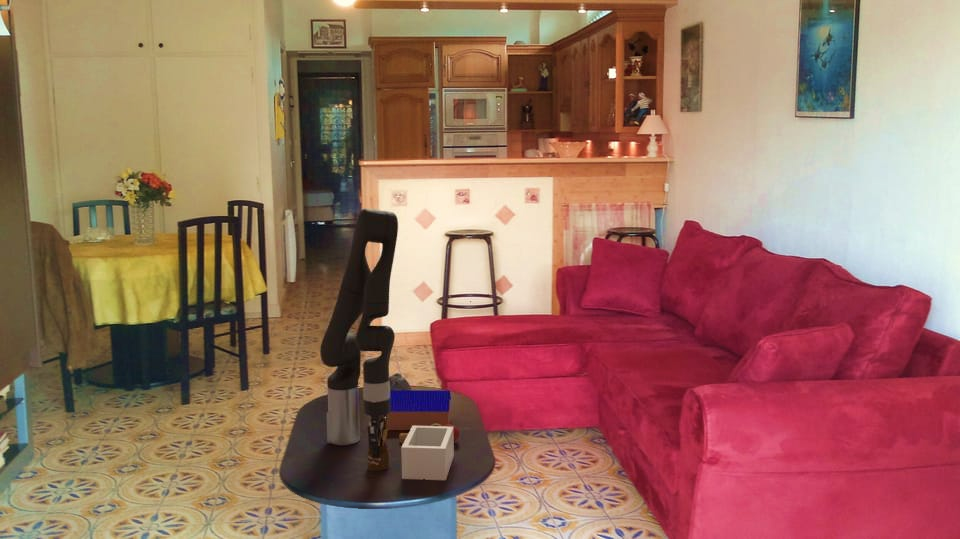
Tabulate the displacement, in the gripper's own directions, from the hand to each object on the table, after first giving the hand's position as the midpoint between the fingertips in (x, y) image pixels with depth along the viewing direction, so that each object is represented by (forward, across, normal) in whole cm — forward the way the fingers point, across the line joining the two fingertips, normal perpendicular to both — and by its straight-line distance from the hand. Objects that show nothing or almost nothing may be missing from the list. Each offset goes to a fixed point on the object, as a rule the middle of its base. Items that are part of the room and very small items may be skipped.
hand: (378, 453), depth 234 cm
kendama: (+5, -20, +11) cm, 23 cm away
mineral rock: (+4, -60, -7) cm, 61 cm away
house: (+5, -36, +6) cm, 36 cm away
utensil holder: (+4, 0, 0) cm, 4 cm away
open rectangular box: (+4, -2, +14) cm, 15 cm away
